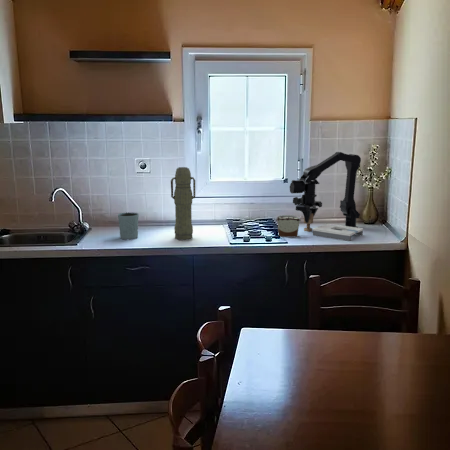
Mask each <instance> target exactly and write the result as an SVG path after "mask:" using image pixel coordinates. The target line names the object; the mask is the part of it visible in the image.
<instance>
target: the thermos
mask: <svg viewBox="0 0 450 450" xmlns="http://www.w3.org/2000/svg"><path fill="white" fill-rule="evenodd" d="M192 180H193V181H192ZM174 182H175V183H174ZM192 183H193V187H191V184H192ZM174 184H175V189H174ZM192 189H193V190H192ZM170 191H171V192H170V194H171V195H170V198H172V199H173V200H174V209H175V223H174V239H175V240H178V241H189V240H192V239H193V233H194V230H193V229H194V227H193V221H192V205H193V200H194V199H195V198H196V178H194V176H192V174H191V170H190V168H188V167H187V166H186V167H185V166H181V167H179V166H178V167H177V168H176V170H175V175H174V177H172V178H171V180H170Z"/></svg>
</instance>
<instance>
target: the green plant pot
mask: <svg viewBox="0 0 450 450" xmlns="http://www.w3.org/2000/svg"><path fill="white" fill-rule="evenodd" d="M139 215H140V214H139V213H138V212H121V213H118V214H117V218H118V227H119V236H120V237H119V238H120V239H121V240H125V241H126V240H128V241H130V240H133V241H134V240H137V239H138V238H139Z"/></svg>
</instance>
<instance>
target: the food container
mask: <svg viewBox="0 0 450 450" xmlns="http://www.w3.org/2000/svg"><path fill="white" fill-rule="evenodd" d="M300 222H302V220H301V217H300V216H297V215H293V214H292V215H290V214H287V215H285V214H284V215H279V216H278V215H277V217H276V223H277V232H278V233H277V234H278V237H279V236H281V237H283V238H284V237H286V238H298V237H299V236H298V234H299V228H300Z"/></svg>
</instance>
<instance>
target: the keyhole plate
mask: <svg viewBox="0 0 450 450" xmlns="http://www.w3.org/2000/svg"><path fill="white" fill-rule="evenodd" d="M354 234H355V235H354ZM363 234H364V228H363V227H358V228H356V227H349V226H345V225H341V224H333V223H324V224H322V225H319V226H316V227H314V228H312V236H316V237H322V238H327V239H328V238H329V239H333V240H340V241H348V242H349V241H350V242H351V241H352V236H353V235H354V236H360V235H361V236H364V235H363Z"/></svg>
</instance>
